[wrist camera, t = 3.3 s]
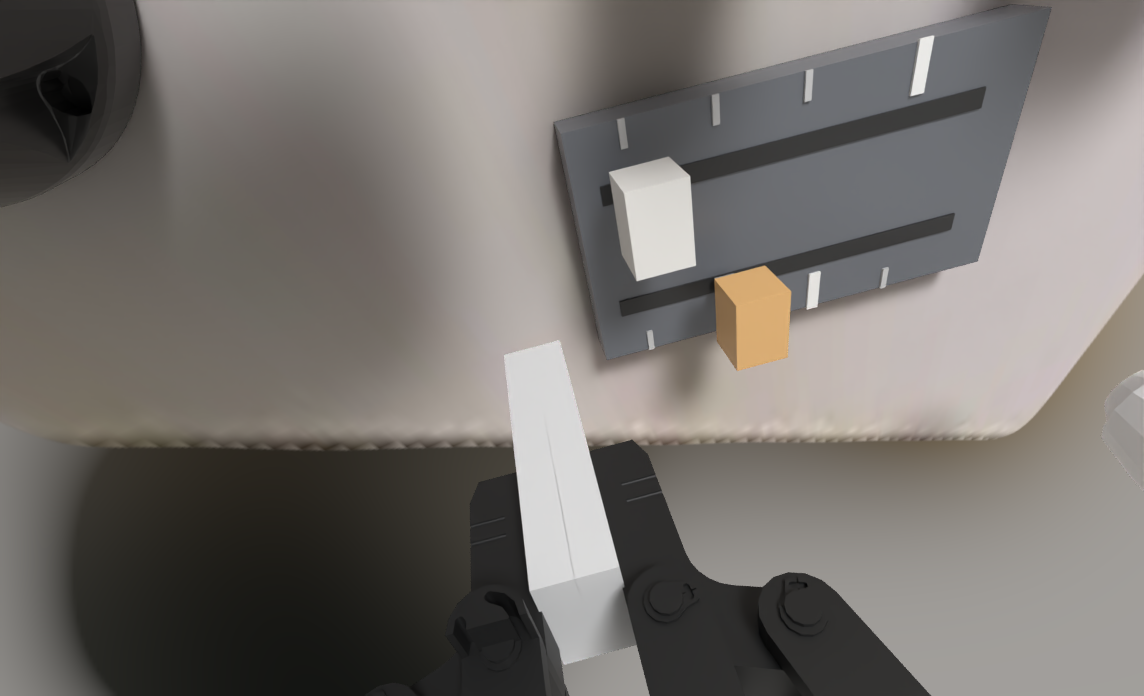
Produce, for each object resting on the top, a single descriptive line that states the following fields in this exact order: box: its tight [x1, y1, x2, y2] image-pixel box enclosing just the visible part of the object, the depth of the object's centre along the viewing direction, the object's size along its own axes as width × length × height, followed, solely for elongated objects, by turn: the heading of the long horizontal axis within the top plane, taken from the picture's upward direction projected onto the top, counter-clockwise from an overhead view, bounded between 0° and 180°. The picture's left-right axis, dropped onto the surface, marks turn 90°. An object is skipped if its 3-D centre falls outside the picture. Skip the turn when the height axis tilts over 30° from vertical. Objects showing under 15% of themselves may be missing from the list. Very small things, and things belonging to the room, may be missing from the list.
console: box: [554, 4, 1052, 360], centre depth 26 cm, size 21×12×2 cm, turn 101°
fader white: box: [609, 157, 696, 281], centre depth 22 cm, size 2×4×4 cm, turn 11°
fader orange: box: [714, 266, 791, 371], centre depth 25 cm, size 2×4×4 cm, turn 11°
